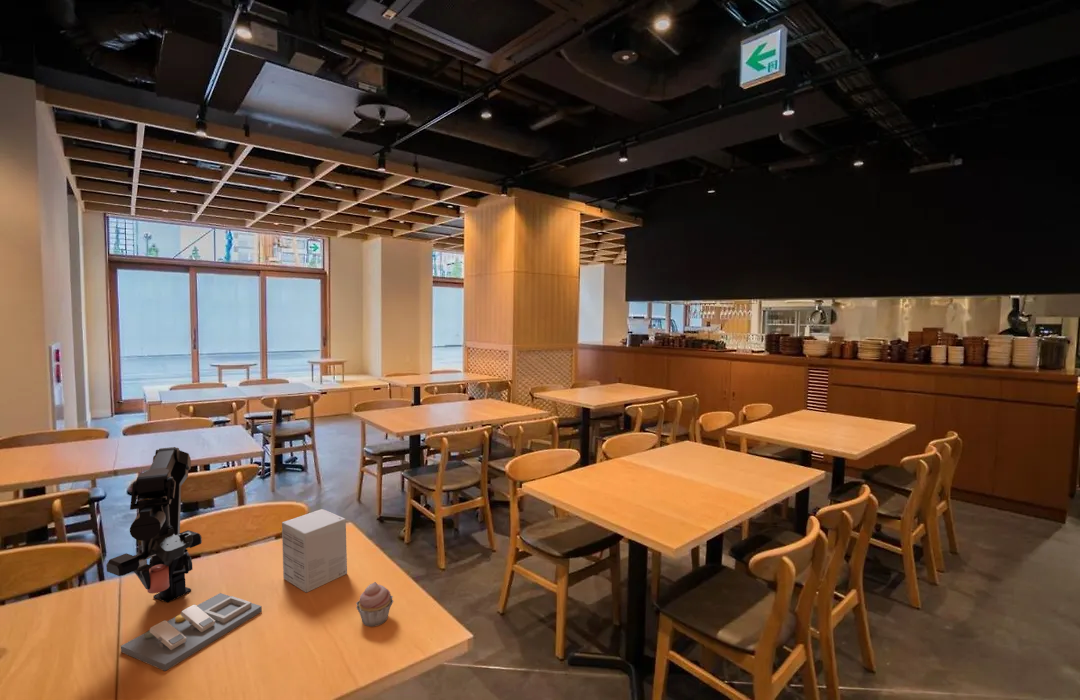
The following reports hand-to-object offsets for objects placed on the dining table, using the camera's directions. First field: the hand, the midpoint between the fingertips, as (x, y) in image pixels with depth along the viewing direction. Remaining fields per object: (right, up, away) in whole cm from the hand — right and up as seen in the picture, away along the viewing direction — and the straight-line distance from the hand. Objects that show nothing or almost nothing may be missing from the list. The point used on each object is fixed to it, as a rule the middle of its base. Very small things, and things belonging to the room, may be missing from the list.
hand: (158, 584), depth 125 cm
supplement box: (+28, -10, +25) cm, 39 cm away
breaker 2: (+11, -8, -1) cm, 13 cm away
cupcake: (+53, -11, +4) cm, 54 cm away
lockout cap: (0, -1, 0) cm, 1 cm away
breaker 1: (+8, -8, -8) cm, 14 cm away
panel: (+10, -11, -1) cm, 15 cm away
